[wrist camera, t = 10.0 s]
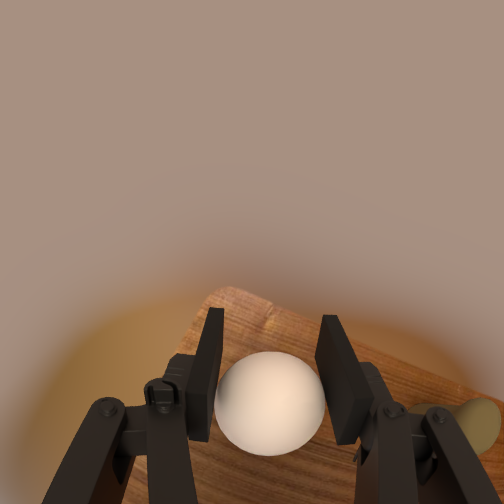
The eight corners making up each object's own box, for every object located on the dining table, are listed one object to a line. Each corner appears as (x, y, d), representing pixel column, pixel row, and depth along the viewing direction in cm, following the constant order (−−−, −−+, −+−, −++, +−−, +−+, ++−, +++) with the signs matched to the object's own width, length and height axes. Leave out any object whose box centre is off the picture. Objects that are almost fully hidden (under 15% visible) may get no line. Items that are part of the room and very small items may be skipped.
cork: (428, 461, 24) (495, 468, 14) (387, 446, 25) (450, 453, 15) (449, 412, 26) (517, 401, 17) (411, 395, 27) (476, 380, 18)
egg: (237, 350, 19) (237, 315, 12) (318, 378, 18) (364, 358, 11) (205, 428, 16) (184, 440, 10) (289, 457, 16) (321, 483, 9)
